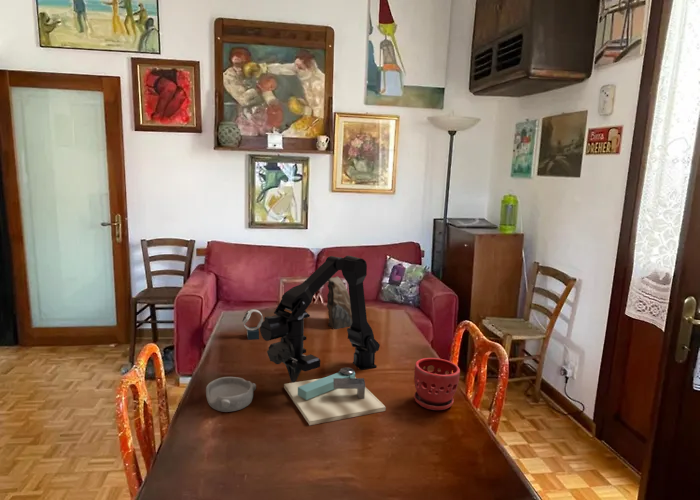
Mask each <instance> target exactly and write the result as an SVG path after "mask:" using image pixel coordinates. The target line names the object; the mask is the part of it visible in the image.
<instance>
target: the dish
mask: <svg viewBox="0 0 700 500" xmlns="http://www.w3.org/2000/svg"><path fill="white" fill-rule="evenodd" d="M256 390H257V384H256V383H254V382H252V381H250V380H246V379H244V378H243V377H237V376H222V377H219V378H216V379H214V380H211V381H210V382H209V383H208V384H207V385H206V387H205V396H206V400H207V403H208V405H209V406H210V407H211V408H212V409H213V410H216V411H218V412H224V413H228V412H229V413H230V412H236V411H239V410H243V409H245V408H246V407H248V406H249V405H250V404H251V403H252V401H253V399H254V391H256Z"/></svg>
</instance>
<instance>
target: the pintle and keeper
mask: <svg viewBox="0 0 700 500" xmlns="http://www.w3.org/2000/svg"><path fill="white" fill-rule="evenodd" d="M339 371H340V373H341V374H343V375H352V374H353V373H354V372H355V369H354V368H351V367H346V366H345V367H341V368H340V369H339ZM333 386H334V389H357V397H358V399H364V398H365V387H366V381H365V378H363V377H362V378H361V377H360V378H359V377H358V378H357V377H356V378H333Z"/></svg>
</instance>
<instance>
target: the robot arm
mask: <svg viewBox="0 0 700 500" xmlns="http://www.w3.org/2000/svg"><path fill="white" fill-rule="evenodd" d="M367 268H368V265H367V260H365V259H364V258H360V257H357V256H352V255H346V256H344V257H341V256H340V257H339V256H333V255H330V256H328V257H327V258H326V259H325V261H324V262H323V263H322V264H321V265H320V266H319V267H318V268H317V269H316V270H315V271H313V273H311V274H310V275H309V276H308V277H307V279H305V280H304V281H303V282H302V283H300V284H298V285H295V286H293V287H291V288H289V289H288V290H286V291H285V292H284V294H282V297H281V299H280V302H279V303H278V305H277V307H276V308H275V310H274V312H273V313H274V315H271V316H270V315H268V316H265V317H263V322H262V324H261V326H260V328H259V333H260V335H261V337H262V339H263V340H264V341H266V342H269V341H272V340H277V339H280V341H278V342H274V343H271V344H270V345H269V346H268V350H267V351H266V353H267V356H268V359H269V361H270V362H272V363H274V364H275V365H280V364H284V365H285V367H286V370H287V373H288V375H289V379H290V383H294V382H297V380H298V377H299V376H300V374H301V373H302V371H303V372H309V371H312V370H315V369H317V368H321V359H320V358H319V357H317V356H315V355H313V354H308V355H306V353H307V349H306V348H304V341H307V335H304V334H305V333H304V332H305V328H304V326H305V324H304V323H305V319H307V318H310V317H311V315H310V314H309V312H307V311H306V310H308V307H310V305H311V303H312V301H313V297H314V296H315V294H316V293H317V292H318V291H319V290H321V288H322V287H323V286H325V284H327V282H328V280H329V279H330V278H333V276H335V274H336V273H337V272H338V271H341V273H342V276H343V278H344V279H345V281H346V282H347V286H348V294H349V297H350V305H351V313H352V324H351V326H350V327H346V331H347V339H348V341H349V342H350V343H351V347H353V348H354V352H353V360H352V365H354V366H355V367H356V368H357V370H358V369H359V370H360V371H362V370H369V369H375V368H377V365H376V363H375V361H376V358H375V357H376V353H377V352H378V351H380V350H379V349H380V346H381V344H380V343H379V342H378V340H376V339H375V336H374V332H373V329H372V326H371V325H370V324H369V322H368V319H367V318H368V317H367V309H366V300H365V297H366V296H365V290H364V289H365V288H364V281H365V279H366V277H367V275H368V271H367V270H368V269H367ZM286 310H288V311H286Z"/></svg>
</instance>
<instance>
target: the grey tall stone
mask: <svg viewBox="0 0 700 500" xmlns="http://www.w3.org/2000/svg"><path fill="white" fill-rule="evenodd" d="M327 282H328V284H327V287H328V288H327V289H328V292H327V295H326V297H327V302H326V303H327V304H326V308H327V310H328V311H327V313H328V323H327V324H328V325H327V326H328V327H329V328H332V330H340V329H344V328H350V326H351V324H352V313H351V305H350V296H349V290H348V289H347V287H346V285H345V283H344V282H343V281H342V280H341V278H340V277H339V276H338V275H336V276H335V277H331V278H330V279H329V280H328V281H327Z"/></svg>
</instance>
